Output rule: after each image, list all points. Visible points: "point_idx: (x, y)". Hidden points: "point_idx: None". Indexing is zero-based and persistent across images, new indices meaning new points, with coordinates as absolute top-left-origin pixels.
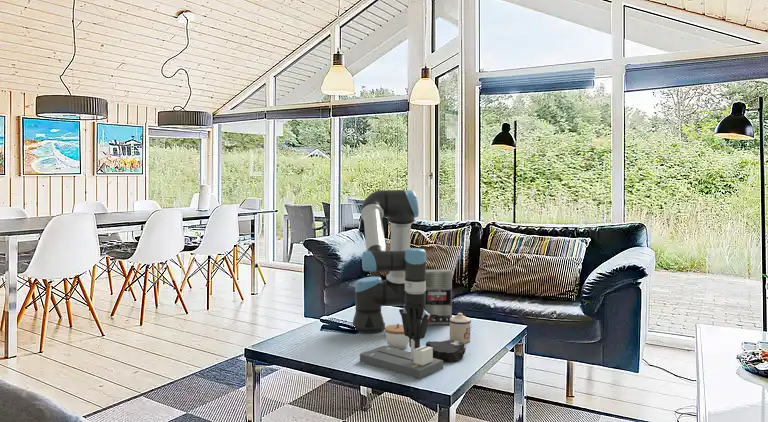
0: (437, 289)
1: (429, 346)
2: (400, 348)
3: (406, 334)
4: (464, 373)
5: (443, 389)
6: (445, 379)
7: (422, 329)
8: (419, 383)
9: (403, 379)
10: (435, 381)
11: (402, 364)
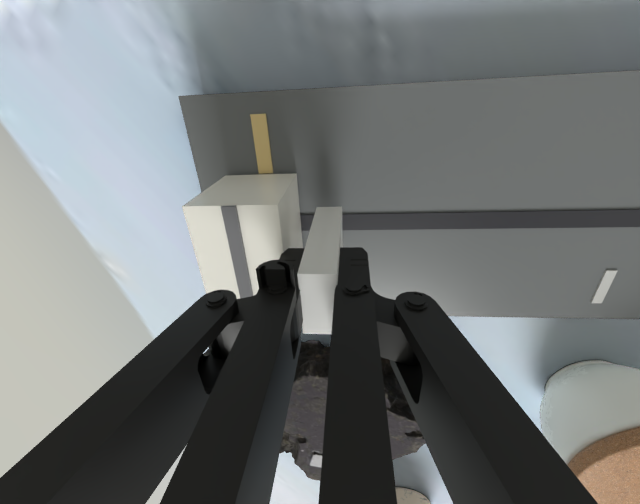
0: None
1: (391, 401)
2: (559, 372)
3: (406, 303)
4: (146, 294)
5: (6, 56)
6: (128, 187)
7: (104, 389)
8: (149, 30)
9: (262, 8)
10: (129, 129)
11: (345, 110)
